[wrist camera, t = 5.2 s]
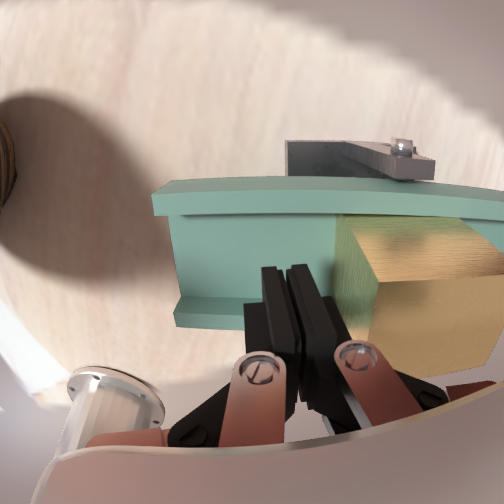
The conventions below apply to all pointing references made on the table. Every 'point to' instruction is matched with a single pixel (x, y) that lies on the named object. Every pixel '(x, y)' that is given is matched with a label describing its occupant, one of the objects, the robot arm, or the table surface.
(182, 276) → the balance beam
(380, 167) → the pivot stand
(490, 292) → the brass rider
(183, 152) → the table surface
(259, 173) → the table surface
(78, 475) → the robot arm
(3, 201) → the ceramic jug
